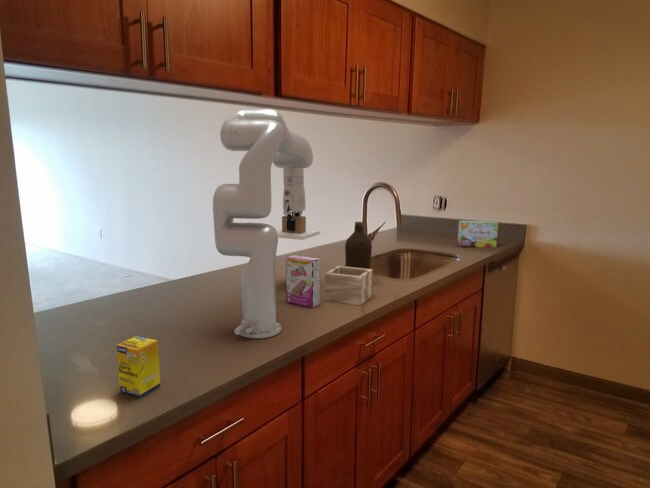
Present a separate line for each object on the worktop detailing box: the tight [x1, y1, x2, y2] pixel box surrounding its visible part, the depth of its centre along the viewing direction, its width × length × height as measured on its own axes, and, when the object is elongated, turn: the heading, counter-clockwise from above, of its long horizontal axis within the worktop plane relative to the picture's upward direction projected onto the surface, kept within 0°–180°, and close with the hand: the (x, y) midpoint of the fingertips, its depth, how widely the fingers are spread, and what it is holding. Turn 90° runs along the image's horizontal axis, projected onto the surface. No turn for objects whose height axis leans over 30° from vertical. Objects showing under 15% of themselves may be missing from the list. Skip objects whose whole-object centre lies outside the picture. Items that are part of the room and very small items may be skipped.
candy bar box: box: [285, 254, 321, 309], centre depth 156 cm, size 11×5×16 cm, turn 59°
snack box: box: [456, 220, 499, 248], centre depth 263 cm, size 21×6×15 cm, turn 90°
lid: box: [276, 215, 320, 241], centre depth 173 cm, size 14×15×7 cm
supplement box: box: [116, 335, 161, 399], centre depth 98 cm, size 6×6×11 cm
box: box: [324, 265, 374, 306], centre depth 164 cm, size 12×13×10 cm
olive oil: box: [344, 221, 373, 269], centre depth 182 cm, size 11×11×25 cm
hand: (293, 229), depth 173 cm, fingers closed on lid, 4 cm apart
